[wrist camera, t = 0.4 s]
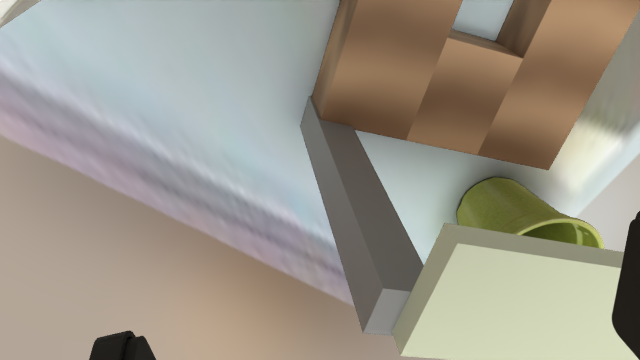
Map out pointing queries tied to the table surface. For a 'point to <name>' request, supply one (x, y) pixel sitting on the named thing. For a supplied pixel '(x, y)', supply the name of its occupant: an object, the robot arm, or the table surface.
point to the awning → (460, 273)
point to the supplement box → (13, 9)
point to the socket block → (469, 73)
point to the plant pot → (521, 214)
